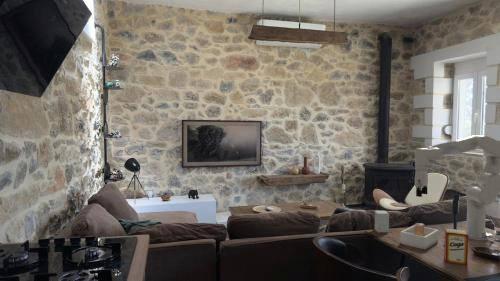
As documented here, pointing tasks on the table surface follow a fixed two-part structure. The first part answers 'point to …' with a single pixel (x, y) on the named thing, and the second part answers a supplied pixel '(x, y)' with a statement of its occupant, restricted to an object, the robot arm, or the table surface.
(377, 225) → the supplement box
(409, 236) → the tote
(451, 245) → the baking soda box
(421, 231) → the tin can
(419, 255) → the table surface
